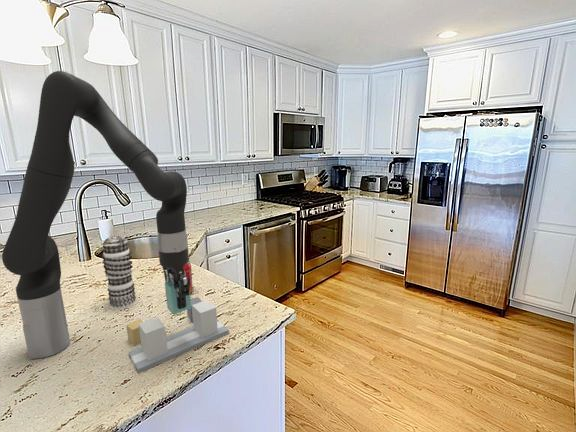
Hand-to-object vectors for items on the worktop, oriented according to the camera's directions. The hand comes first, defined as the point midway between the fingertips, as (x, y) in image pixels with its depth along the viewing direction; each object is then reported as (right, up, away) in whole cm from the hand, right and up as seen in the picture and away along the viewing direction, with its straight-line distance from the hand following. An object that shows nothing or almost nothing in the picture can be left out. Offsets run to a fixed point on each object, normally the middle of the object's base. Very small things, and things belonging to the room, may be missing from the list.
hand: (178, 304), depth 85 cm
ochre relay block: (-14, -12, +5) cm, 19 cm away
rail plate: (0, -12, +3) cm, 13 cm away
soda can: (-10, -5, +34) cm, 35 cm away
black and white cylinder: (-29, -7, +25) cm, 39 cm away
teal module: (0, -1, 0) cm, 1 cm away
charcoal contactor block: (0, -9, +16) cm, 19 cm away
